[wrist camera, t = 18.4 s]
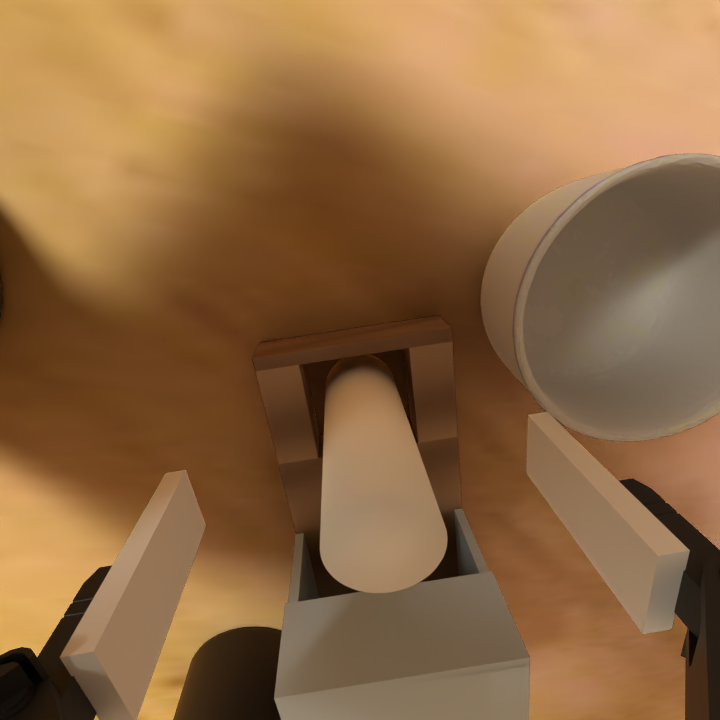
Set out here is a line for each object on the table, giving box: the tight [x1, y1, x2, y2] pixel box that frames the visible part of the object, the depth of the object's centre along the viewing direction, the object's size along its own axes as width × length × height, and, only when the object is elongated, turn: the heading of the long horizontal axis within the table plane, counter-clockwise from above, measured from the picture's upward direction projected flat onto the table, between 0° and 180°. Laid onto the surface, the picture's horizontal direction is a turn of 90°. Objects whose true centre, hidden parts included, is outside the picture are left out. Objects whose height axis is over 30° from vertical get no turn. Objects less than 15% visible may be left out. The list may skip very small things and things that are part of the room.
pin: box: [320, 355, 448, 593], centre depth 18 cm, size 4×4×12 cm
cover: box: [274, 508, 530, 720], centre depth 21 cm, size 8×10×9 cm
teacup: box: [481, 154, 720, 442], centre depth 19 cm, size 14×11×8 cm
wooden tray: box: [252, 316, 462, 598], centre depth 23 cm, size 20×10×6 cm, turn 8°
